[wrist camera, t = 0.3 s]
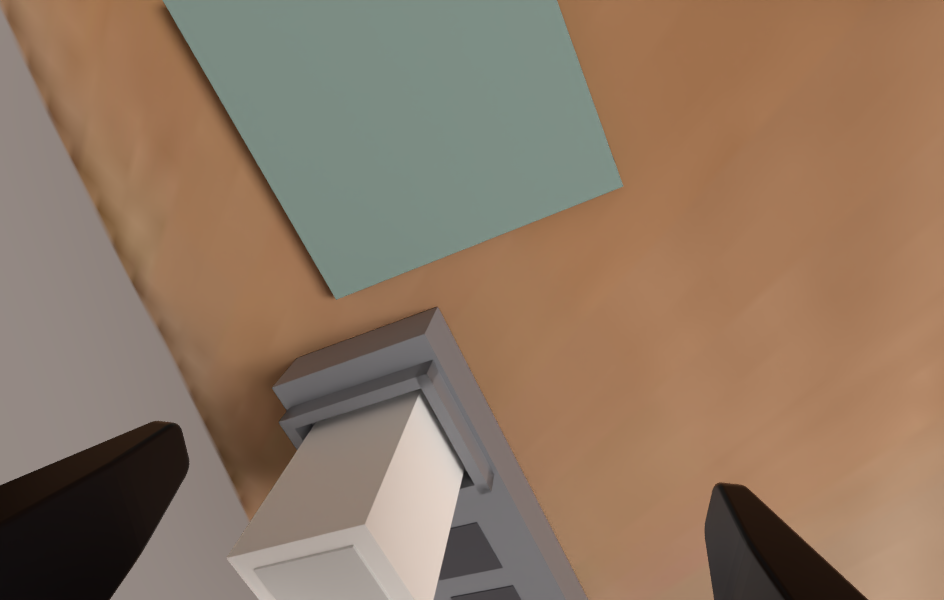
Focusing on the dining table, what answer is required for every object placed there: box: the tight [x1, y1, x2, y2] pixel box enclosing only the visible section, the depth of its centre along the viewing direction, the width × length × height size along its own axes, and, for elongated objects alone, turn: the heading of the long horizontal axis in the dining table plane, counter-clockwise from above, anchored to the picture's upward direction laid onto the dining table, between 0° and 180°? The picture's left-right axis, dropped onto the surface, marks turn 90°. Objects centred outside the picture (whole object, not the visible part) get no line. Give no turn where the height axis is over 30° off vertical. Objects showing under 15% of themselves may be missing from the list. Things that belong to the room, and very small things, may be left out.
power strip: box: [272, 307, 588, 600], centre depth 25 cm, size 18×7×3 cm, turn 25°
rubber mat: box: [163, 0, 623, 300], centre depth 19 cm, size 12×12×1 cm
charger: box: [226, 389, 465, 600], centre depth 20 cm, size 4×5×7 cm
